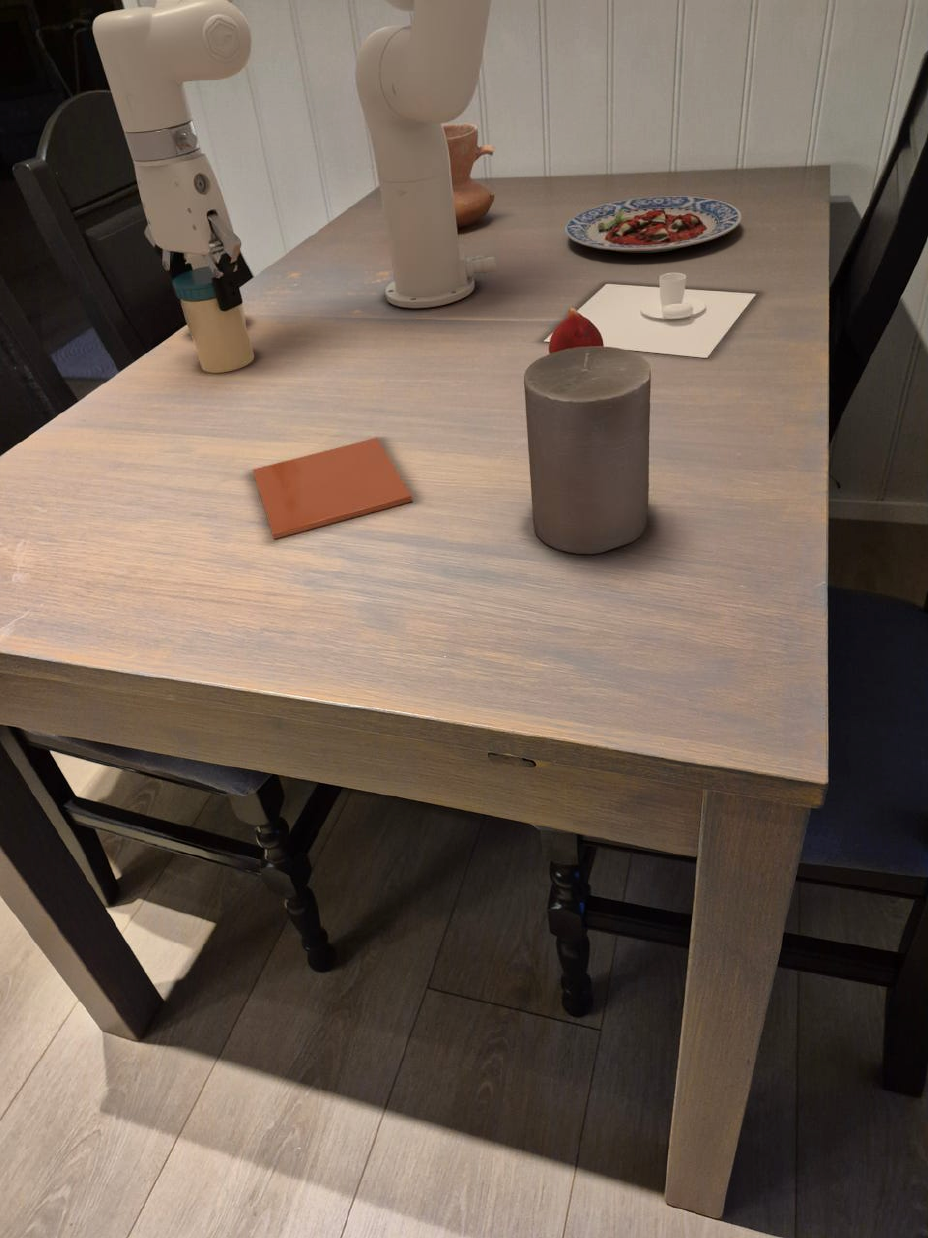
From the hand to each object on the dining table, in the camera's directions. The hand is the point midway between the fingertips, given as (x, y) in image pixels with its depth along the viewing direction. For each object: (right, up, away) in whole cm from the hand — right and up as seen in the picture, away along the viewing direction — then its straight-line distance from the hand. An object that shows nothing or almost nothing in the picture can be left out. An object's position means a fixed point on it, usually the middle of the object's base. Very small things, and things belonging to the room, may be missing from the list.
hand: (210, 302), depth 109 cm
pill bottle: (-3, +1, +15) cm, 15 cm away
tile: (+18, -26, -23) cm, 40 cm away
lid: (0, +2, -2) cm, 3 cm away
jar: (+1, -6, +5) cm, 8 cm away
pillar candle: (+42, -31, -33) cm, 62 cm away
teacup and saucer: (+54, -2, 0) cm, 54 cm away
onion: (+44, -13, -11) cm, 47 cm away
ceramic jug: (+28, +28, +42) cm, 58 cm away
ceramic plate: (+60, +19, +25) cm, 67 cm away
